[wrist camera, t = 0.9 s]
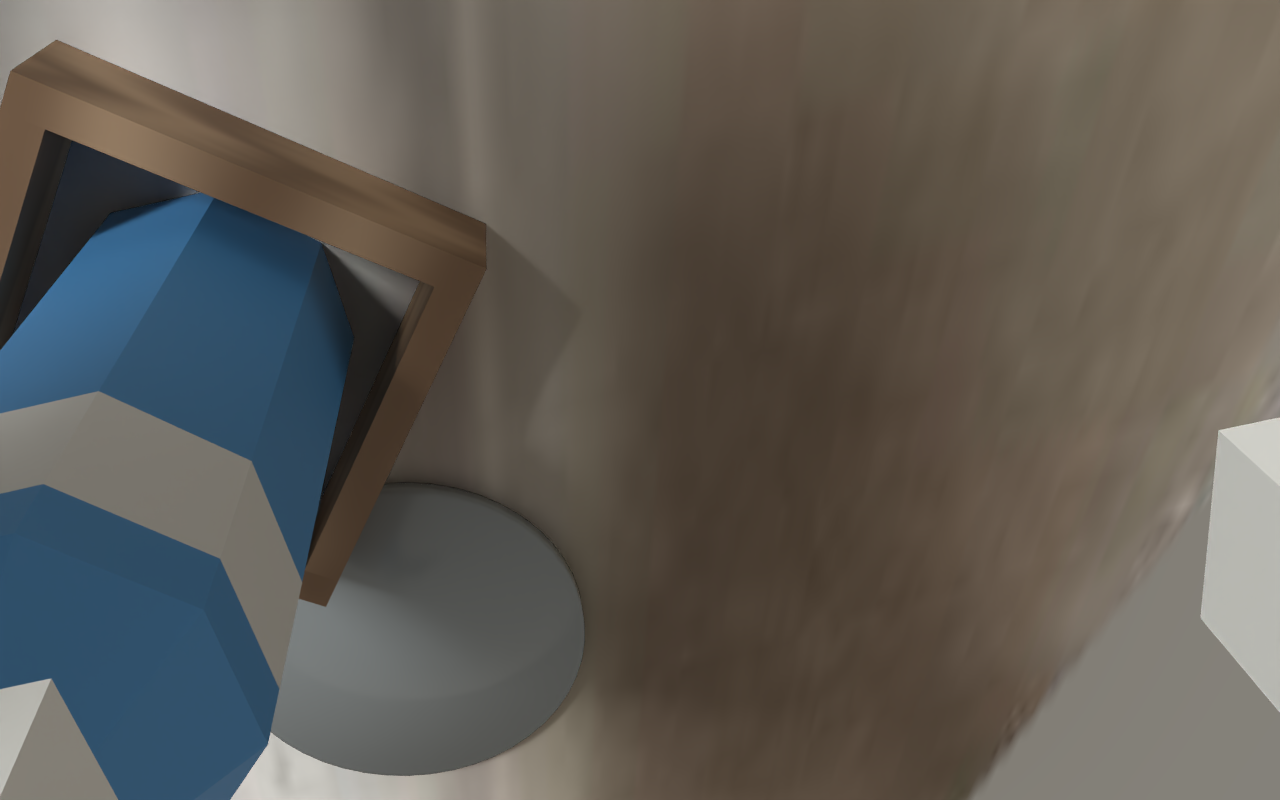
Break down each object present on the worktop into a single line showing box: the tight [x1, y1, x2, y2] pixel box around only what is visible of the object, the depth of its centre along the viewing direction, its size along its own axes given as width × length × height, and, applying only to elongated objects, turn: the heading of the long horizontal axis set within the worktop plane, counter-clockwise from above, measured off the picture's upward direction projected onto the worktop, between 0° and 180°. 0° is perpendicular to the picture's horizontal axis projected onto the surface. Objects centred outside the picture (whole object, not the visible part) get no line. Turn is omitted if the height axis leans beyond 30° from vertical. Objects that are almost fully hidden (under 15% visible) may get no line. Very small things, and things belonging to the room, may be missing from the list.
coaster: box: [270, 483, 585, 776], centre depth 47 cm, size 14×14×1 cm
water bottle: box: [0, 193, 354, 800], centre depth 30 cm, size 9×9×25 cm
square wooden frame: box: [0, 40, 487, 607], centre depth 39 cm, size 14×14×4 cm
